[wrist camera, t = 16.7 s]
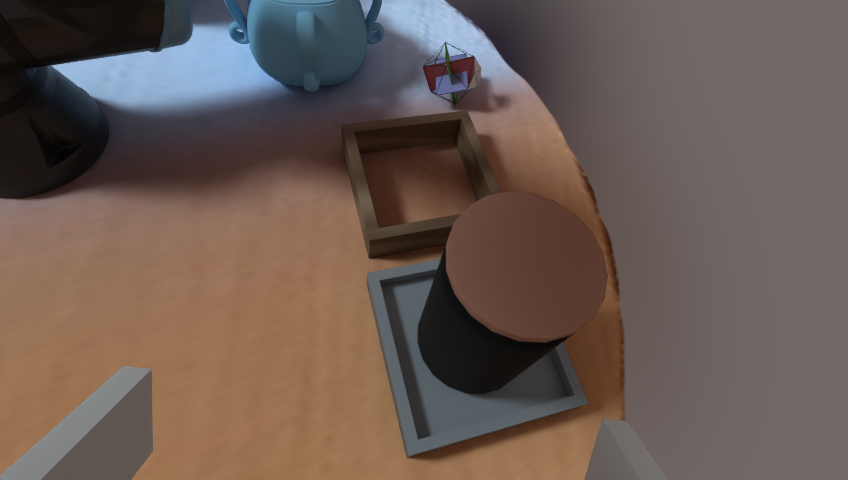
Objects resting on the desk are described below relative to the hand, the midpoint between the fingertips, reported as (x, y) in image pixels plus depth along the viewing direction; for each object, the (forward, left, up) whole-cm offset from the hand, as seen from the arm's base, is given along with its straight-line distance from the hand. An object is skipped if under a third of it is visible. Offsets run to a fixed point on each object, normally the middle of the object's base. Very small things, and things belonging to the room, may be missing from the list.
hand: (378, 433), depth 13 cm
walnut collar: (-28, +12, -30) cm, 42 cm away
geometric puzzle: (-43, +20, -30) cm, 56 cm away
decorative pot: (-52, +3, -30) cm, 60 cm away
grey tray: (-9, +12, -30) cm, 33 cm away
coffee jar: (-9, +12, -29) cm, 33 cm away
